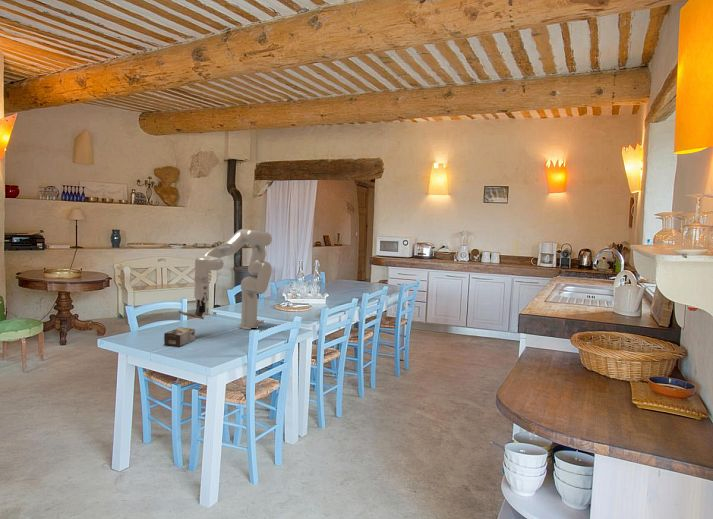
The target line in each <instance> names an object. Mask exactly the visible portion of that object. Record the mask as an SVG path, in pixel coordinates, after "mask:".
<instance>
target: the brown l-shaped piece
mask: <svg viewBox="0 0 713 519" xmlns="http://www.w3.org/2000/svg"><path fill="white" fill-rule="evenodd" d="M203 300H204V299H203ZM202 302H203V301H202ZM197 305H198V306H197ZM197 305H196V310H195V313H191V312H187V311H186V312H185V311H181V310H179V311H178V314H181V315H183V316H187V317H190V318H191V317H192V318H196V319H200V320H204V318H205V317H204V316H203V314H204V313H199V306H200V300H199V303H198V304H197Z"/></svg>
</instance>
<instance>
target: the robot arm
mask: <svg viewBox="0 0 713 519" xmlns="http://www.w3.org/2000/svg"><path fill="white" fill-rule="evenodd" d="M272 242H273V238H272V235H271V234H270V232H266V231H260V230H254V229H245V228H241V229H238V230H237V231H236V232H235V233H234V234H233V235H232V236H230V237H229V239H227V240H226V241H225V242H224V243H222V244H219V245H218V246H215V247H213V248H212V249H210V250H209V251H208V252H207V253H205V254H204V255H203V257H196V258H195V259H194V294H193V295H194V298H195V301H196V307H197V306H198V303H199V300H200V306H199V313H203V314H204V313H206V305H207V302H208V301H209V300H210V287H209V286H210V285H209V281H210V280H209V278H210V276H209V275H210V271H220V270H221V269H223V268H224V260H223V259H222V258H224V257H228V256H231V255H234V254H236V253H237V252H238V251H239V250H240V249H242V247H243V246H244V245H246V244H247V245H250V246H251V255H250V258H249V263H248V266H247V272H248V273H249V275H253V276H246V277H244V278H242V280H241V282H240V290H241V318H240V320H241V321H240V324H238V329H241V328H242V330H252V329H251V328H257V327H259V328H260V325H261V324H265V323H264V320H260V319H258V303H259V302H258V300H259V299H258V295H262V294H264V293H266V291H267V289H268V287H269V283H270V279H271V276H272V272H273V268H272V265H271V263H270V262H268V261H266V260H265V259H266V255H267V252H266V251H267V250H266V248H265V247H267V246H269V245H271V244H272ZM255 276H257V277H255ZM257 294H258V295H257ZM203 299H204V300H203ZM202 301H203V302H202ZM257 329H258V328H257Z"/></svg>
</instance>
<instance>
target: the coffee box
mask: <svg viewBox="0 0 713 519" xmlns="http://www.w3.org/2000/svg"><path fill="white" fill-rule="evenodd" d="M163 335H164V336H163V342H164V343H163V344H164V346H169V345H170V347H182V346H185V345H186V344H188V343H191V342H192V341H195V339H196V329H195V328H190V327H183V326H182V327H177V328H175V329H172V330H169V331H167V332H165V333H164V334H163Z"/></svg>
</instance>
